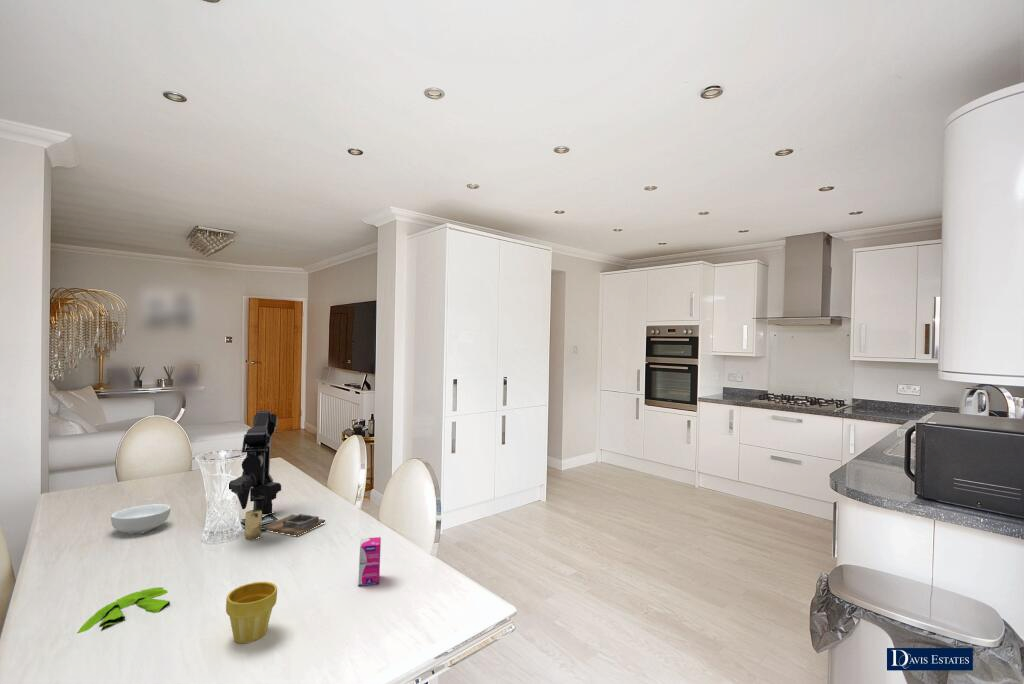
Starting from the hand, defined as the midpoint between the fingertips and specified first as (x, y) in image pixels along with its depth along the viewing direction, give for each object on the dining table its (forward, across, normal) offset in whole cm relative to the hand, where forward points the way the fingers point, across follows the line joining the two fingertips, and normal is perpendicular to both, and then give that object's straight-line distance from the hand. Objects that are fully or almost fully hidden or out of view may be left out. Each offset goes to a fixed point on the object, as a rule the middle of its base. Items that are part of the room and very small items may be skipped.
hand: (253, 510), depth 162 cm
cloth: (+10, +11, -46) cm, 48 cm away
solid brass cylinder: (+9, 0, 0) cm, 9 cm away
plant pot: (+9, +47, -43) cm, 65 cm away
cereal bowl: (+10, -43, -9) cm, 45 cm away
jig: (+9, +6, +13) cm, 17 cm away
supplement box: (+10, +57, -12) cm, 59 cm away
